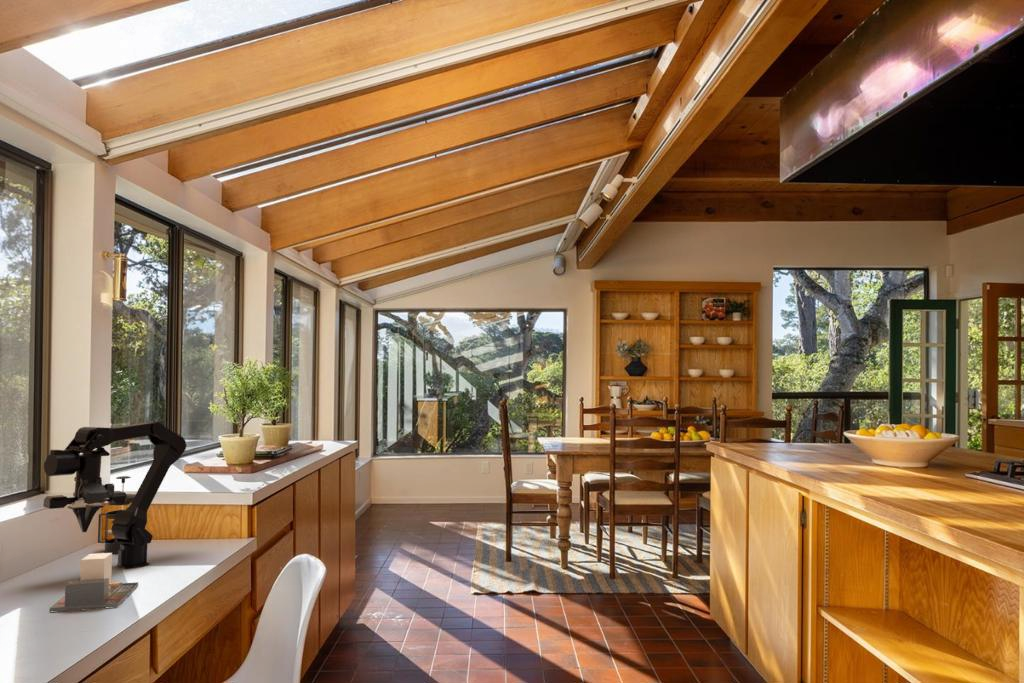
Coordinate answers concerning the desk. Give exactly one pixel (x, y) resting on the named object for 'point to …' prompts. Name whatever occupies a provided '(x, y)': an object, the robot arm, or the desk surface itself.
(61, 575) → the desk surface
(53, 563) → the desk surface
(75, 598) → the gauge base
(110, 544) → the french press
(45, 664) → the desk surface
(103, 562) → the cream box
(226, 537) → the desk surface
